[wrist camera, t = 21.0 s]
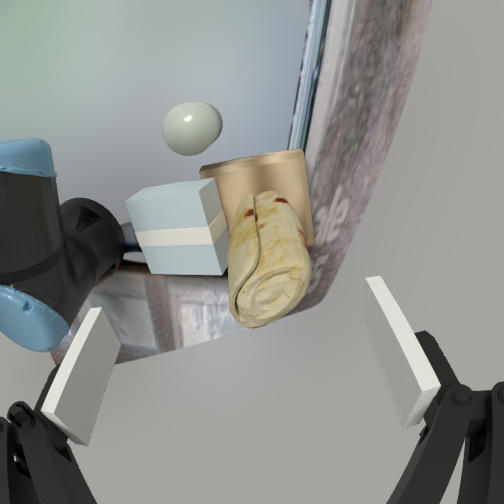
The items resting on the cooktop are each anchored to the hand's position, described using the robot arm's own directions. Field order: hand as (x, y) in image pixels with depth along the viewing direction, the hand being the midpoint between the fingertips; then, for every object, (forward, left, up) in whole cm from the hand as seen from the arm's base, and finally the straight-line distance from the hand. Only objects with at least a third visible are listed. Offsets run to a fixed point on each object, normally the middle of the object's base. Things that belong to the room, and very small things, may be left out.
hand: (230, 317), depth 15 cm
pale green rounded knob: (-4, +6, -32) cm, 33 cm away
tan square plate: (+2, -7, -32) cm, 33 cm away
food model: (+1, -7, -29) cm, 30 cm away
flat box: (-9, -7, -30) cm, 32 cm away
